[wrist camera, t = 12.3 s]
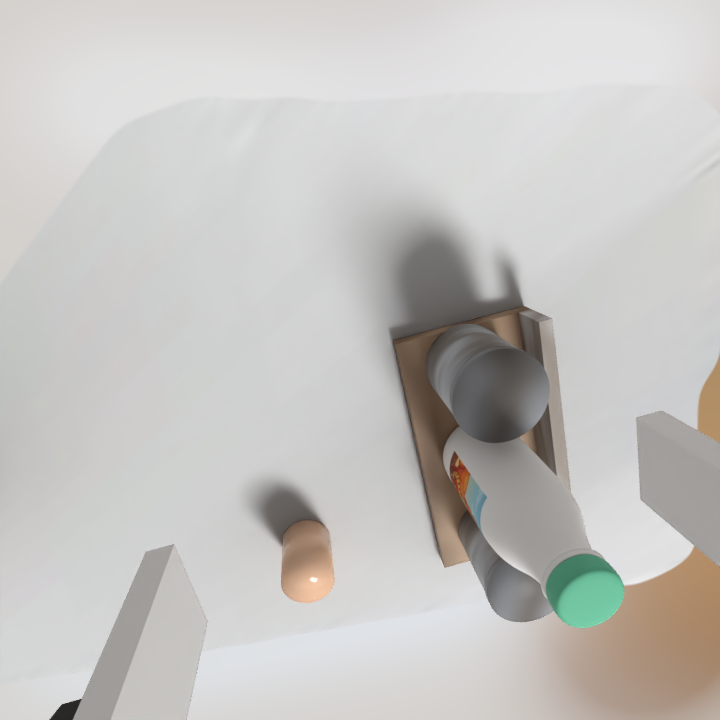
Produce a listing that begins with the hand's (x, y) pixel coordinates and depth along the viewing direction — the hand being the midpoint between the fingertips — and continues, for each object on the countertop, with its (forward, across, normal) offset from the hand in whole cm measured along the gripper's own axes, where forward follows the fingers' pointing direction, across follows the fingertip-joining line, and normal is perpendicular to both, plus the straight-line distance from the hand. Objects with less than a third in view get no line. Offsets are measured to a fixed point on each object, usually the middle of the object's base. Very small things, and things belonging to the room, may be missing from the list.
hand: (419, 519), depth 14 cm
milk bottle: (+31, +10, -18) cm, 38 cm away
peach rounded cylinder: (+33, -9, -24) cm, 42 cm away
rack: (+33, +11, -18) cm, 39 cm away
